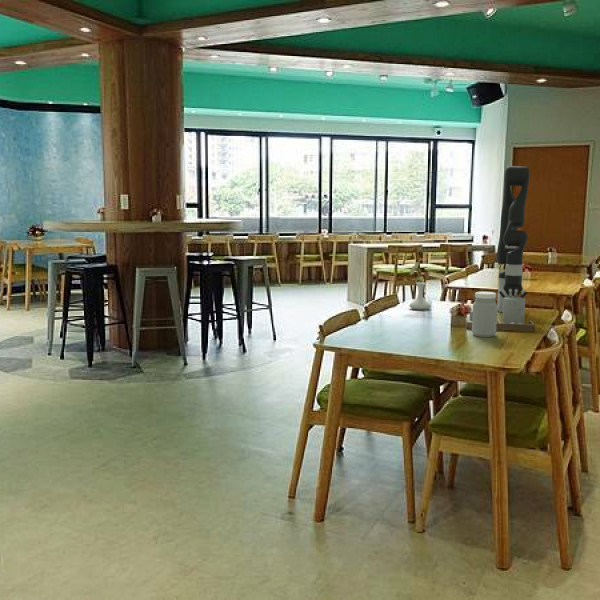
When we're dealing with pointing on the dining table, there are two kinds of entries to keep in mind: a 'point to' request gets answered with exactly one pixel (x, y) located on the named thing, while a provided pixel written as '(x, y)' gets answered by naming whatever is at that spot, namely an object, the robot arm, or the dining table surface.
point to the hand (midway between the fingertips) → (511, 311)
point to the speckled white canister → (513, 310)
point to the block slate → (471, 314)
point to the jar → (484, 314)
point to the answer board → (508, 326)
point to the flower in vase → (419, 293)
